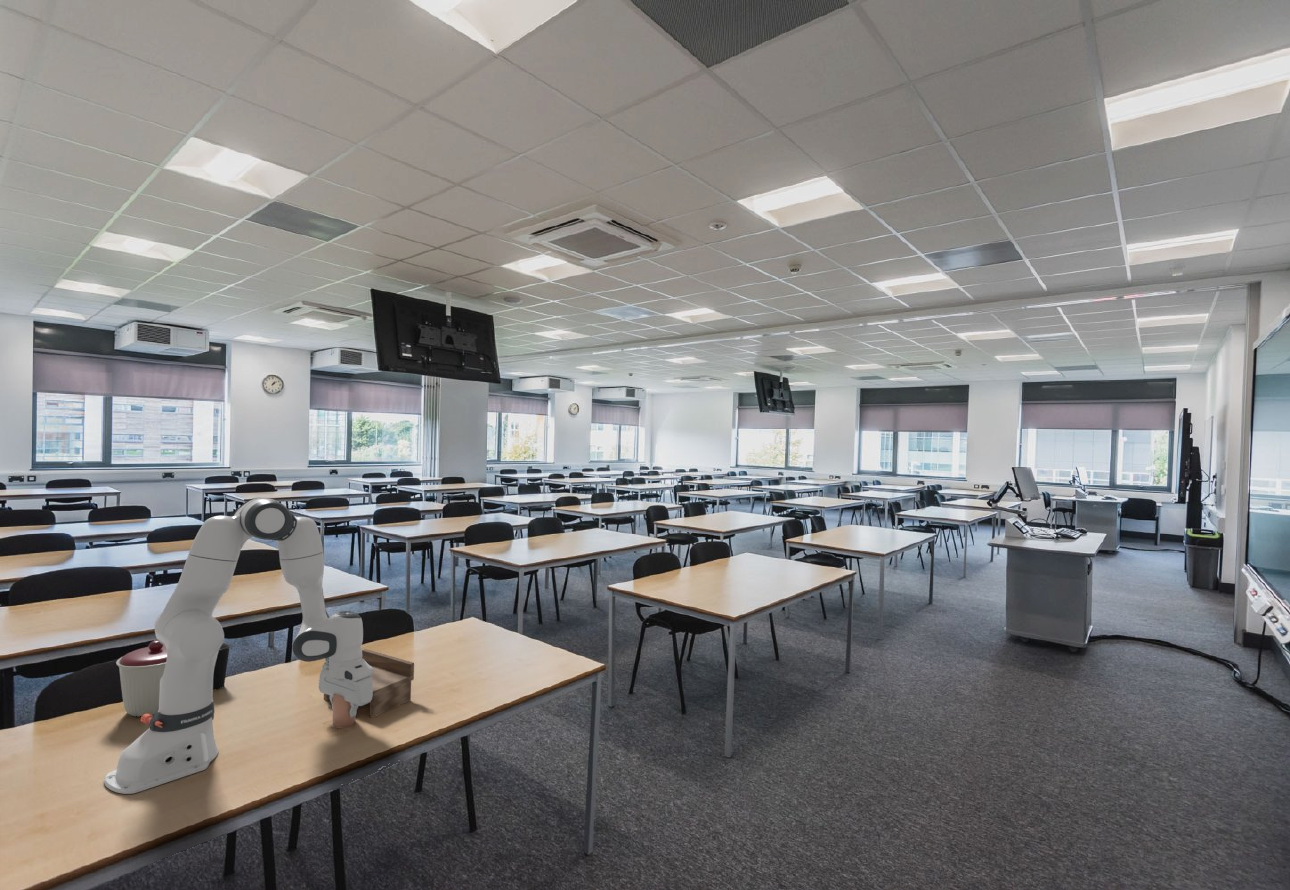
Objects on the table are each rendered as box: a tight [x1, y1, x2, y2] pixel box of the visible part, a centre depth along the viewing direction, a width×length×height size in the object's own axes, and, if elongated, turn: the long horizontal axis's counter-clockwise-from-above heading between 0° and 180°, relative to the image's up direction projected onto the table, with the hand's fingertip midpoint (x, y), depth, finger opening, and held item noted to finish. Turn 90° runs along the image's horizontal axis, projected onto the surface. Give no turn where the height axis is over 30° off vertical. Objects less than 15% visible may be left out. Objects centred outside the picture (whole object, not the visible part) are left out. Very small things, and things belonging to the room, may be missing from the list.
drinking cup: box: [213, 642, 231, 691], centre depth 198 cm, size 8×8×20 cm
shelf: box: [323, 648, 415, 718], centre depth 193 cm, size 16×24×12 cm, turn 62°
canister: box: [115, 639, 167, 718], centre depth 181 cm, size 18×18×21 cm
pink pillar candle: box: [332, 694, 356, 729], centre depth 177 cm, size 6×6×9 cm
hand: (344, 712), depth 177 cm, fingers closed on pink pillar candle, 6 cm apart
